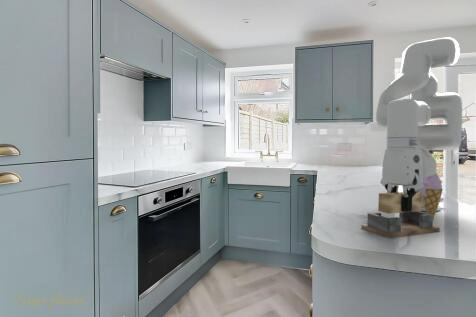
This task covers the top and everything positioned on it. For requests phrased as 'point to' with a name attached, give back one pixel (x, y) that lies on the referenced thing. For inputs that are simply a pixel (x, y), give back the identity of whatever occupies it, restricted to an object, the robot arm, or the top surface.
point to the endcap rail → (400, 224)
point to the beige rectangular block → (397, 202)
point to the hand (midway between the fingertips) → (400, 209)
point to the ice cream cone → (431, 193)
